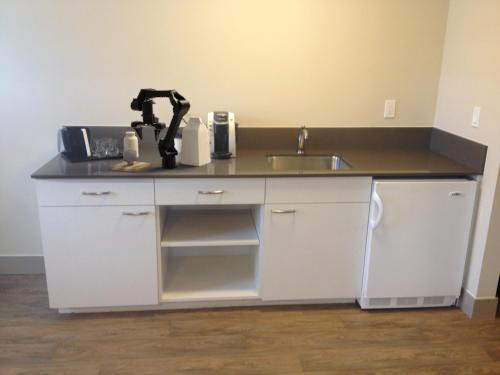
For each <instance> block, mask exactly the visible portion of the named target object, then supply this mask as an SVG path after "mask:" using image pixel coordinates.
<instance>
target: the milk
mask: <svg viewBox="0 0 500 375" xmlns="http://www.w3.org/2000/svg"><path fill="white" fill-rule="evenodd" d="M181 132H182V133H181V138H182V139H181V164H182V165H189V166H196V167H201V166H203V165H207V164H210V163H211V149H210V135H209V134H210V133H209V129H208V127H207V126H206V125H205V123H204V122H203V121H202V118H201V116H193V115H192V116H189V118H188V121H187V123H186V124H185V126H184V127H183V129H182V131H181Z"/></svg>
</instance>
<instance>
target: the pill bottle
mask: <svg viewBox="0 0 500 375" xmlns="http://www.w3.org/2000/svg"><path fill="white" fill-rule="evenodd" d="M125 150H136V152H137V158H139V141H138V137H137V136H136V131H125V136H124V137H123V151H125Z"/></svg>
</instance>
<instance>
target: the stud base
mask: <svg viewBox="0 0 500 375" xmlns="http://www.w3.org/2000/svg"><path fill="white" fill-rule="evenodd" d="M151 166H152V163H151V162H143V161H142V162H141V161H134V162H125V161H124V160H123V161H121V162H119V163H115V164H113V165H110V166H109V171H110V170H112V171H119V172H121V171H122V172H127V173H129V172H131V173H138V172H141V171H143V170H145V169H147V168H150V167H151Z"/></svg>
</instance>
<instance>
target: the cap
mask: <svg viewBox="0 0 500 375" xmlns="http://www.w3.org/2000/svg"><path fill="white" fill-rule="evenodd" d="M122 157H123V158H122V159H123V161H125V162H138V157H137V152H136V150H125V151H124V150H122Z"/></svg>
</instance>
